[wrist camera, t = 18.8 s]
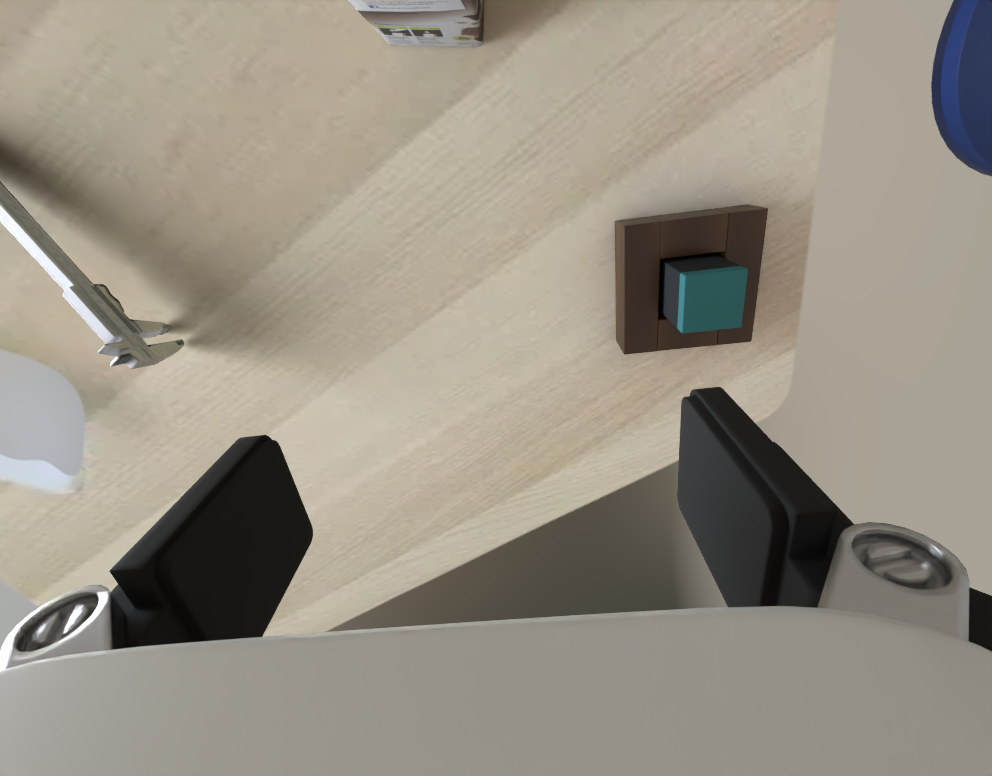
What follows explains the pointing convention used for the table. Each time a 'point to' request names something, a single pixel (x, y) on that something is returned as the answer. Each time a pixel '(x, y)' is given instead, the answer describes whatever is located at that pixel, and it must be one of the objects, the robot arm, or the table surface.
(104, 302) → the caliper
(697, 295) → the block
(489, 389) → the table surface
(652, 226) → the mount block
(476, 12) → the coffee box
